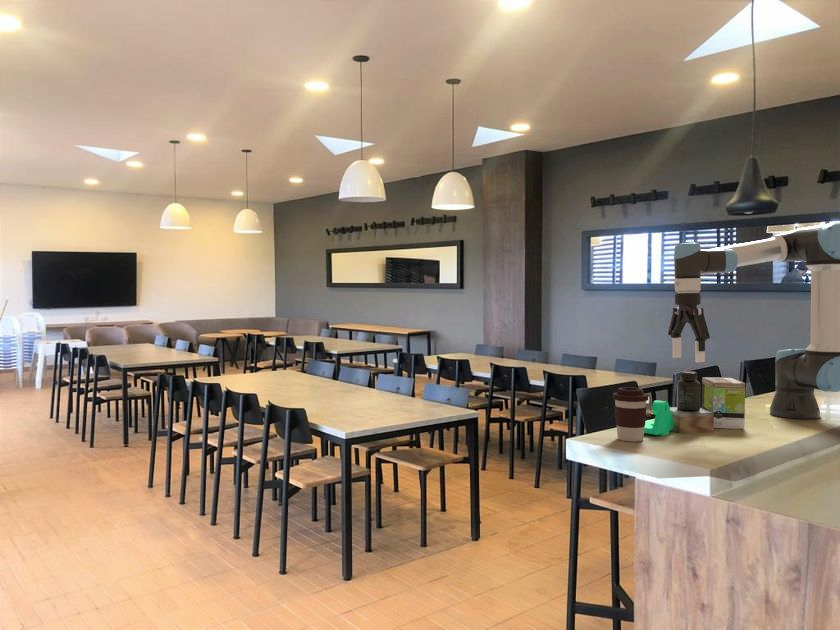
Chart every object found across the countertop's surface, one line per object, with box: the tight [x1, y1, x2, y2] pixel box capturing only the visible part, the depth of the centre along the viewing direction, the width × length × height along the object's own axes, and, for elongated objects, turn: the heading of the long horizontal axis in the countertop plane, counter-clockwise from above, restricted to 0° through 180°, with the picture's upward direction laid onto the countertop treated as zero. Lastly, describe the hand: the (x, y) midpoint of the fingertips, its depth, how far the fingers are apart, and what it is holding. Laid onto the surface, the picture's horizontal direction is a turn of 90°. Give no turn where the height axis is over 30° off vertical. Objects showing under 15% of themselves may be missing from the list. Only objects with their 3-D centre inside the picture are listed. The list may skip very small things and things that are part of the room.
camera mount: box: [644, 400, 674, 437], centre depth 199 cm, size 12×8×10 cm, turn 136°
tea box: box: [701, 376, 746, 430], centre depth 210 cm, size 15×10×15 cm, turn 168°
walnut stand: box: [669, 406, 715, 434], centre depth 204 cm, size 11×11×6 cm
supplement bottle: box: [676, 370, 701, 412], centre depth 203 cm, size 7×7×12 cm
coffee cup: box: [612, 386, 649, 443], centre depth 190 cm, size 10×10×15 cm
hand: (688, 360), depth 203 cm, fingers open, 13 cm apart
